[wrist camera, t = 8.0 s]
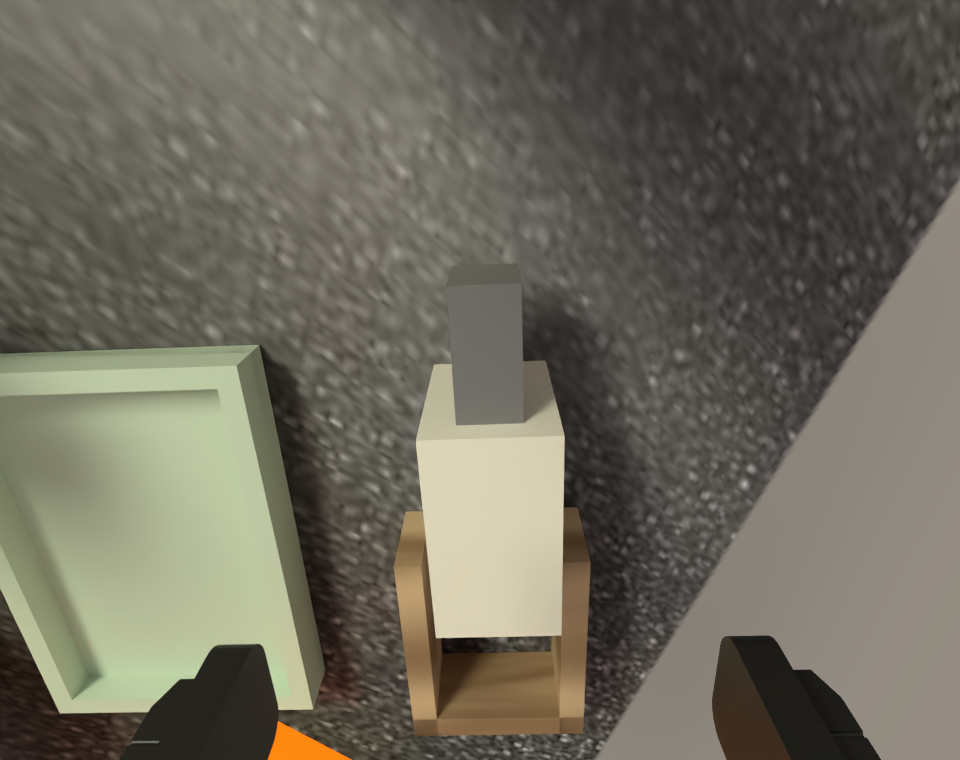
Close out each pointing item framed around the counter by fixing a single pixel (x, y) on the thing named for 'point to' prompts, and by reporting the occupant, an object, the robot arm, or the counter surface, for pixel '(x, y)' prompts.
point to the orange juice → (299, 747)
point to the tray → (149, 523)
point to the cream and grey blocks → (492, 469)
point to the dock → (493, 654)
